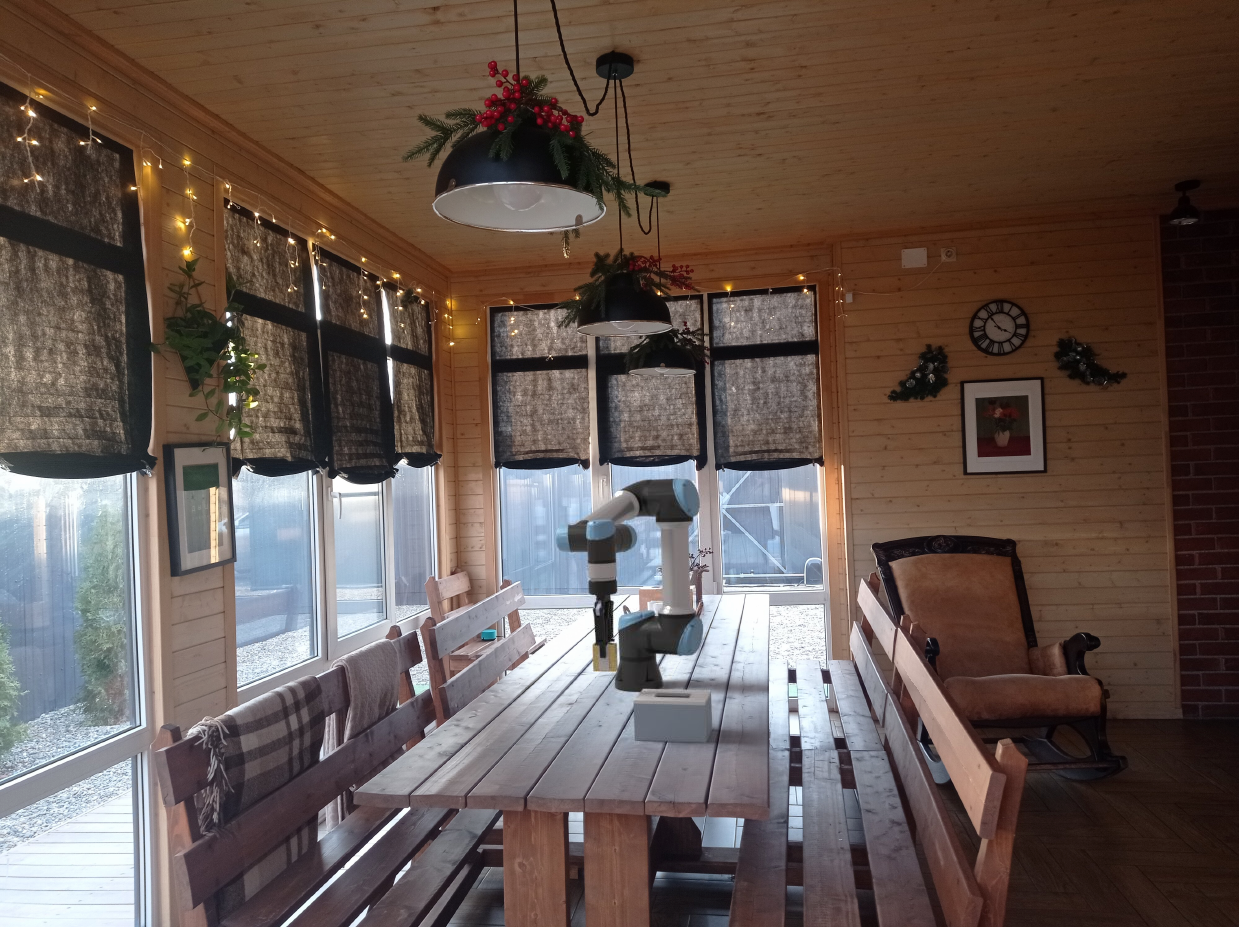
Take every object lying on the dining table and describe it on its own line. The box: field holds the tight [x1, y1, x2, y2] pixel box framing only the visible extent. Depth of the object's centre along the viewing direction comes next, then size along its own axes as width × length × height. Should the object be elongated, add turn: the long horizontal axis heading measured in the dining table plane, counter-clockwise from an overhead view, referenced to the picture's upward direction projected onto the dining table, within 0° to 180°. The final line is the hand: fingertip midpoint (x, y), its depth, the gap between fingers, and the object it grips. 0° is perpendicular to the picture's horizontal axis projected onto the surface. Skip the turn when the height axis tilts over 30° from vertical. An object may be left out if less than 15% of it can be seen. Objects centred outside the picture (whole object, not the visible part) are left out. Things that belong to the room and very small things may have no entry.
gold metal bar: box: [592, 642, 619, 673], centre depth 240 cm, size 2×6×7 cm, turn 77°
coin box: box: [632, 688, 713, 744], centre depth 234 cm, size 12×18×10 cm, turn 77°
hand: (605, 668), depth 240 cm, fingers closed on gold metal bar, 2 cm apart
